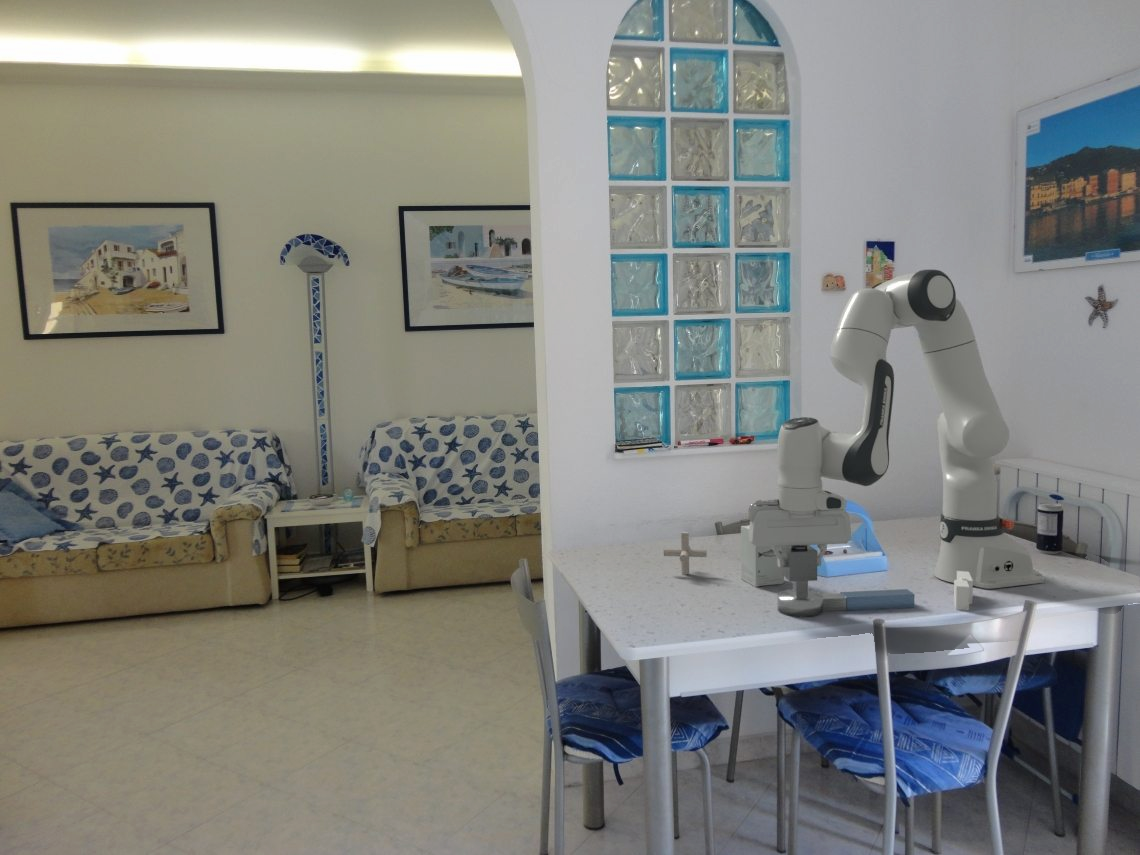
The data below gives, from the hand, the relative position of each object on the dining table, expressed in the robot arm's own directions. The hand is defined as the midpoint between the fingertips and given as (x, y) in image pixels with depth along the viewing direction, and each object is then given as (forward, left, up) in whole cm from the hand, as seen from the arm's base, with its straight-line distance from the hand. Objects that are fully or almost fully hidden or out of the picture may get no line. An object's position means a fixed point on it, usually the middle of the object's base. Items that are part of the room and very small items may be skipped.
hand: (799, 566), depth 177 cm
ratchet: (-9, 0, -9) cm, 13 cm away
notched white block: (-34, 0, -10) cm, 35 cm away
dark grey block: (0, 0, -2) cm, 2 cm away
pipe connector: (+18, -30, -9) cm, 36 cm away
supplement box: (+2, -21, -9) cm, 23 cm away
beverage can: (-74, -35, -9) cm, 82 cm away
